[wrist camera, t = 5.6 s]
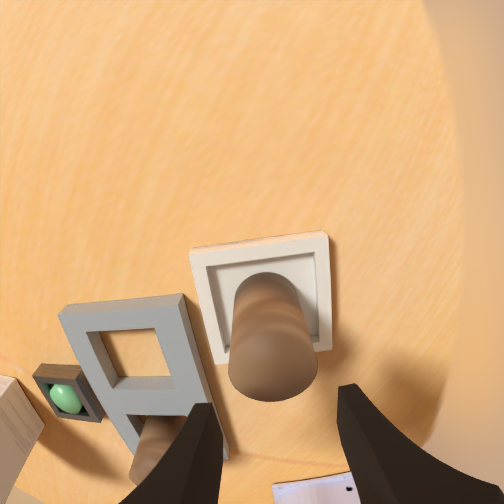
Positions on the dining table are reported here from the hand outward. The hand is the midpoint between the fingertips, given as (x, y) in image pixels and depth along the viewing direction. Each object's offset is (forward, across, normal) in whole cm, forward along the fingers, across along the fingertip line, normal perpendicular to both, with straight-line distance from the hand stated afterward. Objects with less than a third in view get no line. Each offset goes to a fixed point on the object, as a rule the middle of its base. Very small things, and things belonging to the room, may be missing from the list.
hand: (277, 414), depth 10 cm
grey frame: (+9, +10, +7) cm, 15 cm away
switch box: (+9, +18, +7) cm, 21 cm away
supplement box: (+10, +29, +10) cm, 32 cm away
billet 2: (+9, 0, 0) cm, 9 cm away
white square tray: (+9, 0, 0) cm, 9 cm away
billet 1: (+9, +10, +11) cm, 17 cm away
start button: (+10, +18, +7) cm, 21 cm away
